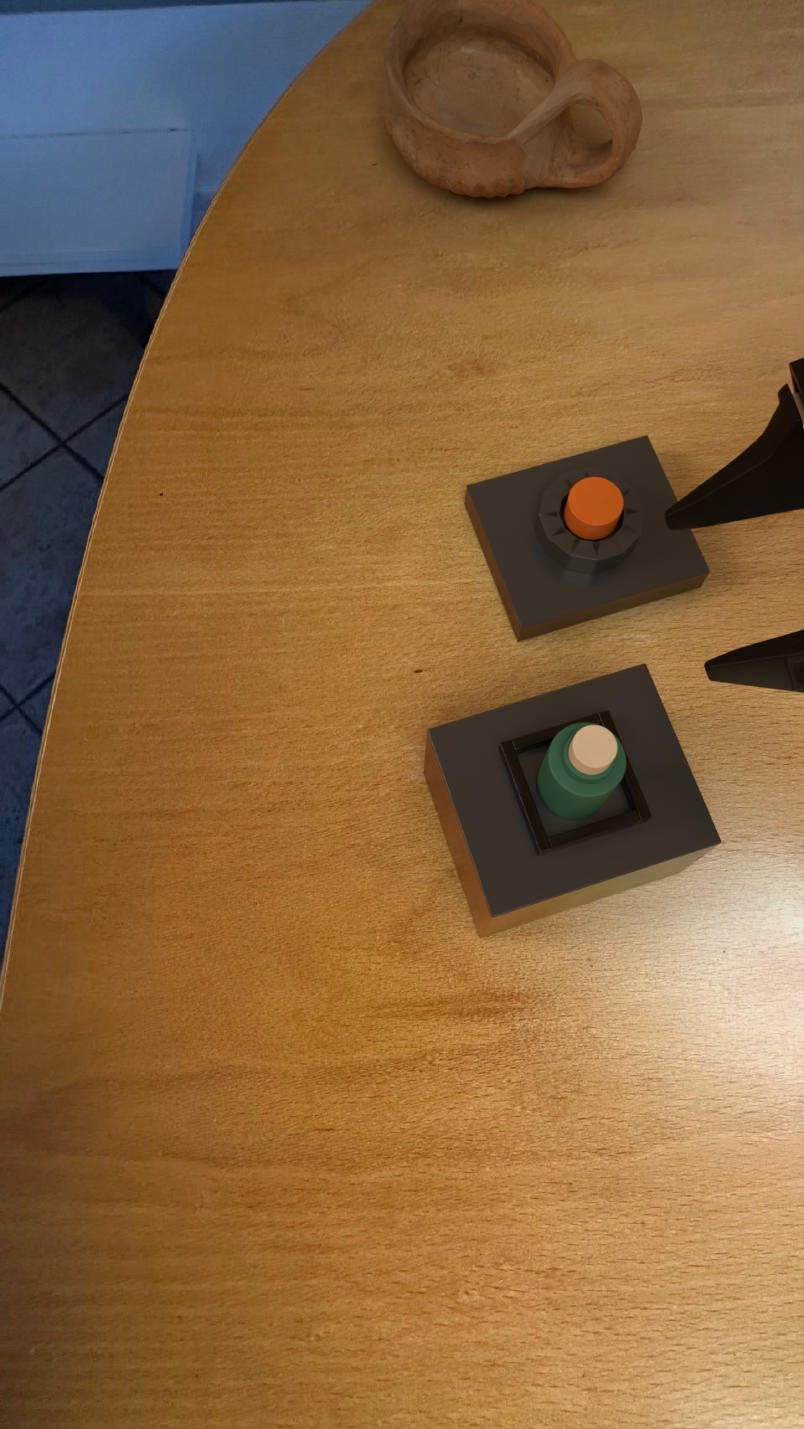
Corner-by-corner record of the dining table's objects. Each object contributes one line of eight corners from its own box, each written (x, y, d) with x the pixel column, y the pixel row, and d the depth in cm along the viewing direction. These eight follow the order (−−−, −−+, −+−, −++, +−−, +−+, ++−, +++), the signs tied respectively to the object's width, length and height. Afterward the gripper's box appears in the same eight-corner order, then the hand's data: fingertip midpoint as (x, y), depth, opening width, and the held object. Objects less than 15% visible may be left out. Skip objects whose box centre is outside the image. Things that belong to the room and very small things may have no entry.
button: (606, 486, 63) (611, 470, 62) (625, 531, 62) (632, 516, 61) (555, 500, 63) (560, 485, 61) (575, 546, 62) (580, 531, 60)
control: (639, 454, 68) (654, 417, 65) (700, 587, 65) (719, 557, 61) (464, 503, 67) (468, 469, 63) (517, 642, 64) (525, 614, 60)
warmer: (615, 712, 63) (650, 654, 54) (681, 872, 59) (728, 838, 51) (422, 772, 61) (427, 722, 53) (479, 938, 58) (493, 914, 50)
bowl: (646, 72, 77) (675, -31, 67) (610, 258, 77) (634, 181, 67) (406, 33, 78) (400, -75, 68) (369, 216, 77) (357, 134, 67)
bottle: (592, 741, 54) (617, 697, 47) (619, 807, 52) (648, 771, 46) (525, 762, 53) (542, 720, 47) (550, 829, 52) (571, 795, 46)
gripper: (976, 184, 43) (605, 333, 48) (1194, 506, 32) (688, 655, 37) (978, 386, 52) (662, 495, 56) (1152, 695, 41) (743, 796, 46)
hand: (685, 592), depth 49 cm, fingers open, 9 cm apart
